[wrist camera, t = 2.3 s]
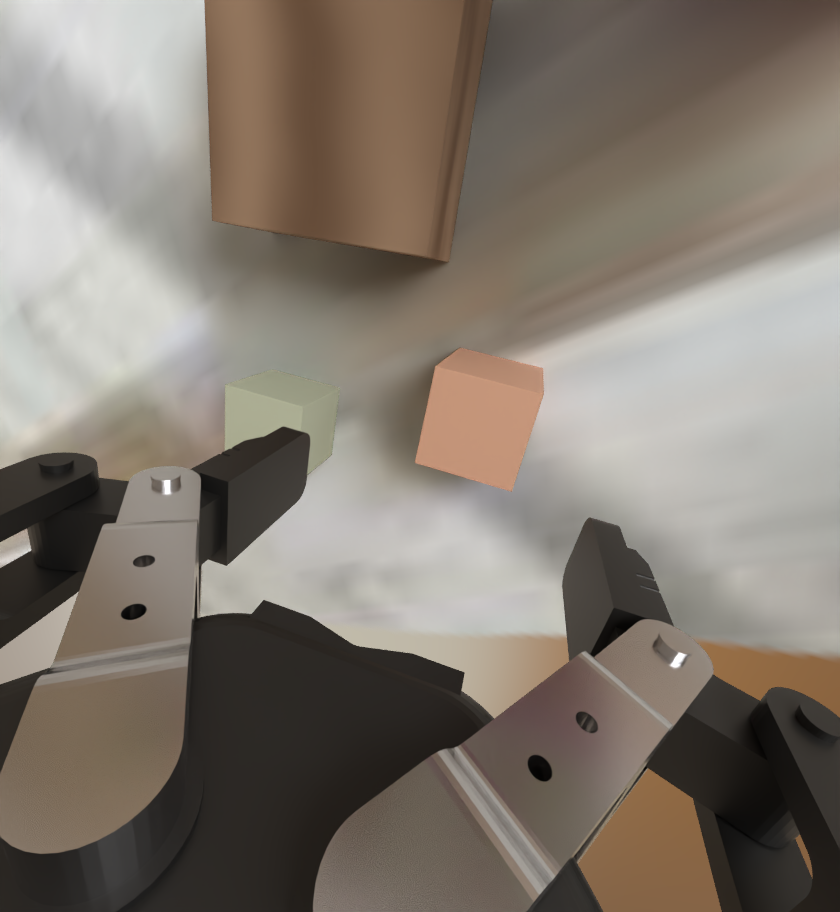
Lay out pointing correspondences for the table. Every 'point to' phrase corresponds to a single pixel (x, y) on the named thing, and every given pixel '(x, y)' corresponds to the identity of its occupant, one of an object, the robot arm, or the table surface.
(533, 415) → the terracotta block
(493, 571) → the table surface
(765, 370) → the table surface
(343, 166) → the walnut block
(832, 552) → the table surface
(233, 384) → the sage green cube
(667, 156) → the table surface
